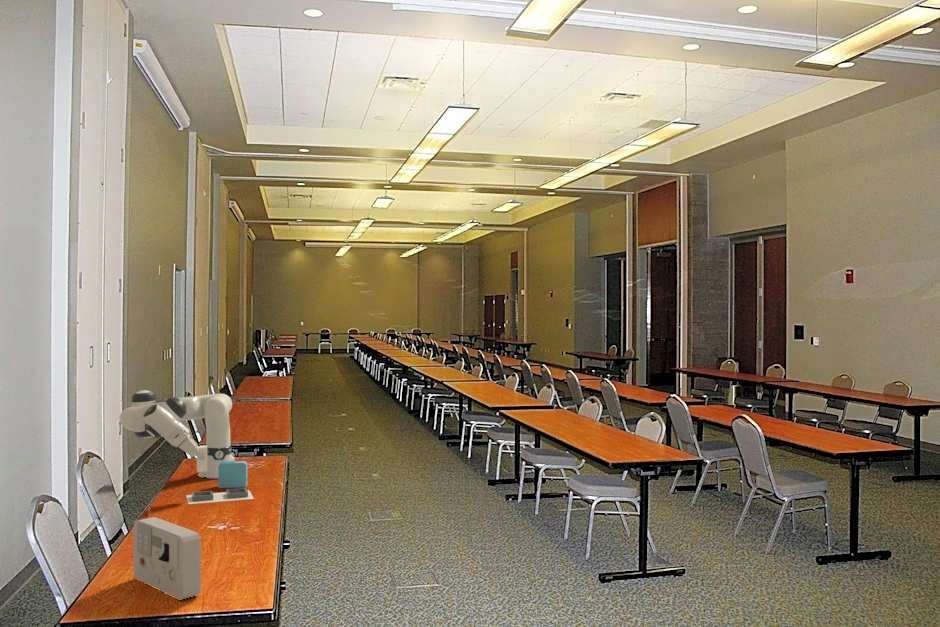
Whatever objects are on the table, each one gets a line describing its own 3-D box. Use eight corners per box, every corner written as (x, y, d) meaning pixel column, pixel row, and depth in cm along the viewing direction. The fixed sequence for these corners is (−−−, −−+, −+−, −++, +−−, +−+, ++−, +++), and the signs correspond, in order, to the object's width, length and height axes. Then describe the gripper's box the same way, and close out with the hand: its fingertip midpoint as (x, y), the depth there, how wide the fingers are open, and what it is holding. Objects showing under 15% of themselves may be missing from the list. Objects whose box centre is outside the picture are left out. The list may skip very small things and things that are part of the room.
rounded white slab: (125, 581, 228) (125, 520, 228) (150, 574, 234) (150, 515, 234) (175, 605, 210) (175, 539, 210) (200, 597, 216) (201, 533, 215)
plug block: (196, 470, 324) (196, 446, 324) (206, 469, 325) (206, 445, 325) (197, 471, 320) (197, 447, 320) (207, 471, 322) (207, 447, 322)
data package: (247, 487, 348) (247, 460, 348) (246, 489, 344) (246, 462, 344) (219, 487, 346) (220, 461, 346) (218, 490, 342) (218, 463, 342)
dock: (186, 497, 328) (186, 490, 328) (249, 492, 338) (249, 485, 338) (188, 506, 313) (188, 499, 313) (253, 501, 323) (254, 493, 323)
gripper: (172, 437, 328) (196, 458, 332) (173, 445, 309) (199, 467, 313) (183, 426, 330) (207, 447, 333) (185, 433, 311) (210, 456, 314)
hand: (203, 457), depth 323 cm, fingers closed on plug block, 4 cm apart
